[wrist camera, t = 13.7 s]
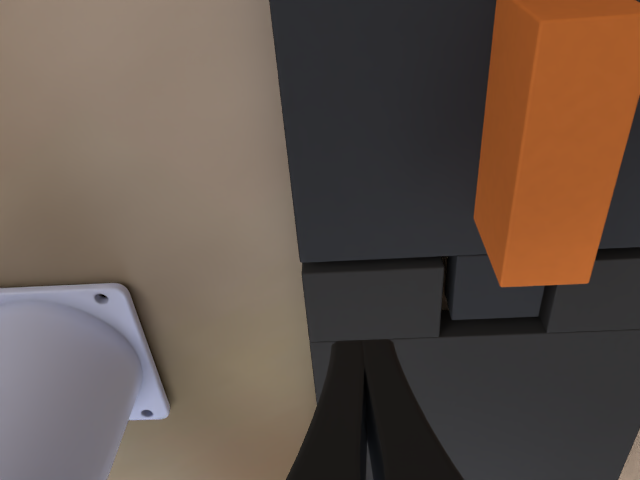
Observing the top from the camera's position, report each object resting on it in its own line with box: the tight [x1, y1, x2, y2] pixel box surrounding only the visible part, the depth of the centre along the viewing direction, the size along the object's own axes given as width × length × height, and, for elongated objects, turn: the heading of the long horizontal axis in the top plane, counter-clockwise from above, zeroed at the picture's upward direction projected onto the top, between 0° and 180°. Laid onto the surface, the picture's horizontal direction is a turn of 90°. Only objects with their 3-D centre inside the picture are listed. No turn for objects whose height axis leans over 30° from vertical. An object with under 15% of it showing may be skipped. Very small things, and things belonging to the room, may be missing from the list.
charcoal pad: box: [269, 0, 640, 320], centre depth 16 cm, size 14×13×5 cm
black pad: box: [302, 247, 640, 480], centre depth 24 cm, size 14×14×2 cm
